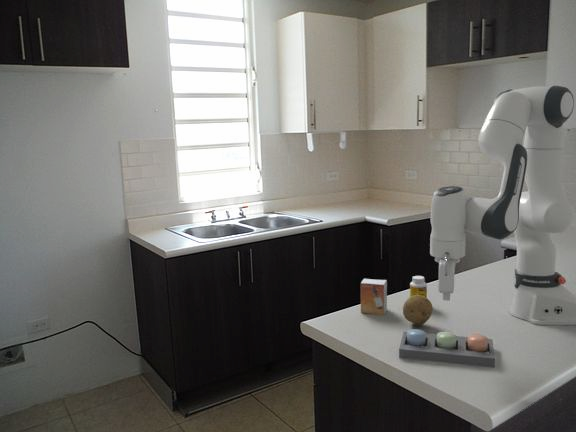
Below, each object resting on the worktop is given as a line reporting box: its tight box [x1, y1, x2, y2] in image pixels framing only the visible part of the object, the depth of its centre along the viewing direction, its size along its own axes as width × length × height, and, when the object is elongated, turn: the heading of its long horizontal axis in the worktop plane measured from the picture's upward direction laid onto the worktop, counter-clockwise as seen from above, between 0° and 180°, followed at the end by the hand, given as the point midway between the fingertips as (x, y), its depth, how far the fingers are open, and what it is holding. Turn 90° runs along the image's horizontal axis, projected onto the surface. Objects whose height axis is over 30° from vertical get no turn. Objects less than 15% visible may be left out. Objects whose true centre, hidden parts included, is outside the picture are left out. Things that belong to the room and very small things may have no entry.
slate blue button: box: [406, 328, 427, 347], centre depth 140 cm, size 5×5×3 cm
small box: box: [360, 278, 388, 316], centre depth 170 cm, size 8×6×10 cm
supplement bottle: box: [409, 275, 428, 299], centre depth 173 cm, size 6×6×10 cm
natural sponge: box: [402, 295, 434, 327], centre depth 156 cm, size 9×9×10 cm
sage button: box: [436, 331, 457, 350], centre depth 137 cm, size 5×5×3 cm
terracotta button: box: [467, 333, 489, 353], centre depth 135 cm, size 5×5×3 cm
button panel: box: [398, 331, 496, 368], centre depth 138 cm, size 24×12×2 cm, turn 71°
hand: (446, 298), depth 135 cm, fingers closed
